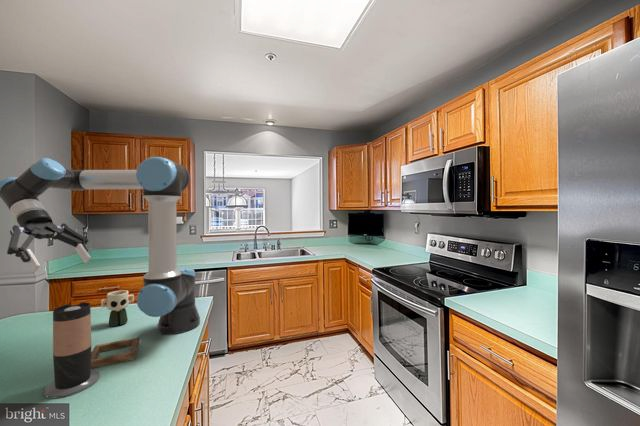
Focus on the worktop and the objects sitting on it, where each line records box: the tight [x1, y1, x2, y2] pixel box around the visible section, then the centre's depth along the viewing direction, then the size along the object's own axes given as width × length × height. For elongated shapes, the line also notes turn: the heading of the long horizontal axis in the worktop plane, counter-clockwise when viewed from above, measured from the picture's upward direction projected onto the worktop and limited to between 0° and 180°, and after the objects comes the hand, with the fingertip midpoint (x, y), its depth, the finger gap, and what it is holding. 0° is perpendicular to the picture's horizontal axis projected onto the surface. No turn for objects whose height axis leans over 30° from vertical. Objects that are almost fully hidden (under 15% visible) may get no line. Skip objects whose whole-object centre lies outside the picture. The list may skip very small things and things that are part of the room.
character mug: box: [100, 289, 135, 327], centre depth 113 cm, size 11×7×13 cm, turn 131°
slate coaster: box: [44, 368, 101, 398], centre depth 74 cm, size 11×11×1 cm
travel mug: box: [52, 301, 92, 389], centre depth 74 cm, size 8×8×20 cm
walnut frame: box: [91, 336, 140, 369], centre depth 89 cm, size 12×12×2 cm
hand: (64, 264), depth 87 cm, fingers open, 13 cm apart
